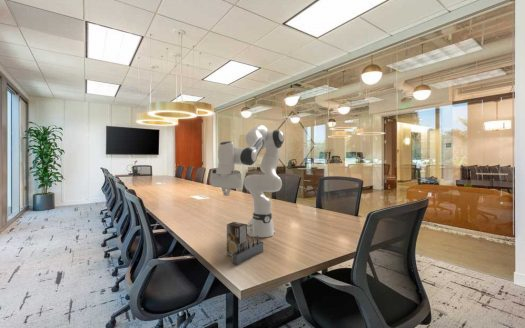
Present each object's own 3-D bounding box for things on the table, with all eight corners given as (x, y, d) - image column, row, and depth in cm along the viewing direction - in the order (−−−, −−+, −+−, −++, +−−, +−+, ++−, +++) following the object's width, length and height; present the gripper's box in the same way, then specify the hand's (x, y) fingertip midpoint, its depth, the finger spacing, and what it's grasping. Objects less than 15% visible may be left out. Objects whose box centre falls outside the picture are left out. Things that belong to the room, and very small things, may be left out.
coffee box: (247, 254, 134) (247, 224, 133) (240, 258, 128) (240, 226, 128) (234, 251, 139) (234, 221, 138) (226, 255, 133) (226, 224, 133)
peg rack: (231, 263, 122) (231, 245, 122) (258, 250, 141) (258, 233, 140) (237, 265, 120) (237, 246, 120) (263, 251, 139) (263, 234, 138)
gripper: (244, 171, 139) (244, 196, 139) (216, 169, 150) (216, 193, 151) (237, 171, 134) (237, 198, 134) (209, 170, 145) (209, 194, 146)
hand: (226, 195), depth 143 cm, fingers closed
